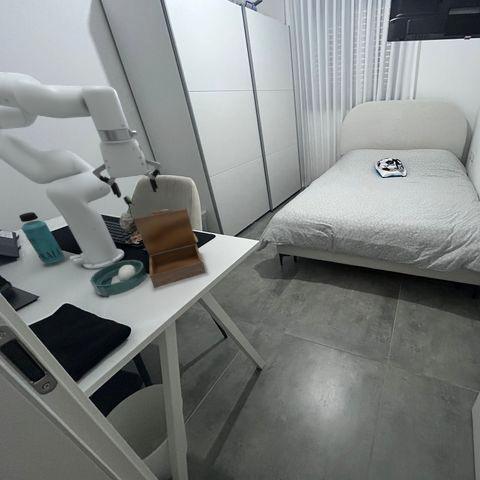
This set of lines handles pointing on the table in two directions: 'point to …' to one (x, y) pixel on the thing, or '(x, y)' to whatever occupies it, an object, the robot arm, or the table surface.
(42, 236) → the beverage bottle
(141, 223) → the egg box lid
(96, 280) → the bowl
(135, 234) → the plant with pod
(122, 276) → the egg
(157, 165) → the robot arm
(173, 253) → the brown wooden box base
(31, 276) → the table surface
